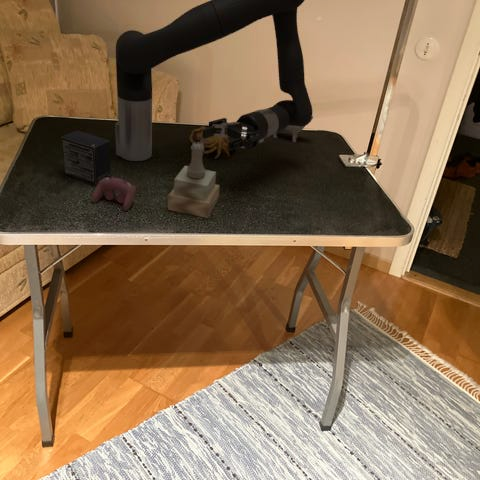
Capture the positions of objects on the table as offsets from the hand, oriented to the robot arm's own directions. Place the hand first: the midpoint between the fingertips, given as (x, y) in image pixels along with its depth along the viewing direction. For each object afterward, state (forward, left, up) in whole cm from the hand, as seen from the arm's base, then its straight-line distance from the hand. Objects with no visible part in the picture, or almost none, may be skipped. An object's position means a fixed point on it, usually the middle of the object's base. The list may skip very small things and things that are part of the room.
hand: (216, 140), depth 119 cm
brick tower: (-3, -6, -15) cm, 17 cm away
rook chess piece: (-3, -6, -8) cm, 10 cm away
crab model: (-7, +29, -16) cm, 34 cm away
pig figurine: (+13, +49, -16) cm, 53 cm away
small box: (-33, -3, -16) cm, 37 cm away
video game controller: (-21, -13, -16) cm, 29 cm away
